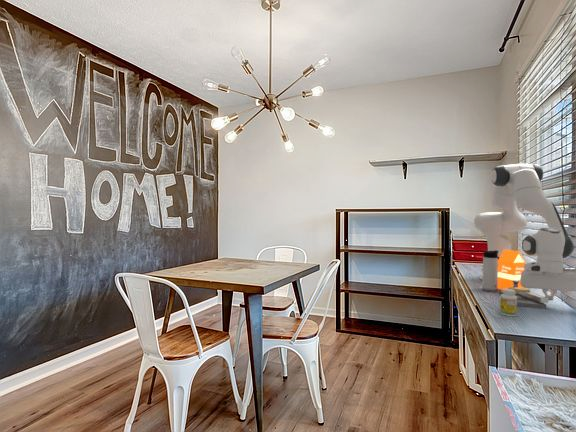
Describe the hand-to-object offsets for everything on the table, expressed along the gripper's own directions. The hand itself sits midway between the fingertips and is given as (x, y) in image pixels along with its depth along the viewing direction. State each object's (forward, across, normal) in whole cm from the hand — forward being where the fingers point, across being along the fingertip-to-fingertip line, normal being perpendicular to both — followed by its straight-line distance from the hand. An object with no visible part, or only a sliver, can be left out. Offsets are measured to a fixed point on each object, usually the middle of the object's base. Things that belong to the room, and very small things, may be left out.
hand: (549, 300), depth 141 cm
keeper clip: (+1, +9, -5) cm, 11 cm away
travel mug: (+3, +17, -24) cm, 29 cm away
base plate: (+3, +8, -8) cm, 11 cm away
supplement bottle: (+3, +19, +18) cm, 27 cm away
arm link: (+1, +6, -8) cm, 10 cm away
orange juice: (+3, +7, -28) cm, 29 cm away
